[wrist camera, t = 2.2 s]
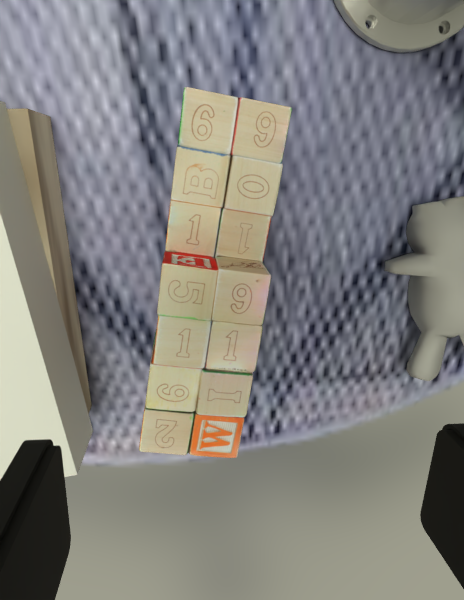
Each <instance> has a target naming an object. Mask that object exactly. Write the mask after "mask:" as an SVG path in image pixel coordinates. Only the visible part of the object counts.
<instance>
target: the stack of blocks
mask: <svg viewBox="0 0 464 600" xmlns="http://www.w3.org/2000/svg"><path fill="white" fill-rule="evenodd" d="M291 112H292V108H291V107H286V106H282V105H277V104H272V103H267V102H261V101H257V100H252V99H247V98H237V97H233V96H228V95H224V94H219V93H214V92H208V91H204V90H198V89H194V88H188V87H185V88H184V93H183V103H182V112H181V121H180V129H179V140H178V146H177V150H176V158H175V168H174V176H173V185H172V193H171V202H170V210H169V218H168V229H167V238H166V250H165V253H164V257H163V262H162V270H161V280H160V290H159V299H158V309H157V313H158V323H157V329H156V333H155V338H154V344H153V351H152V357H151V364H150V371H149V380H148V387H147V395H146V404H145V409H144V416H143V423H142V431H141V438H140V446H139V451H141V452H154V453H167V454H177V455H186V454H187V453H189V454H191V455H195V456H209V457H226V458H236V457H237V454H238V449H239V444H240V438H241V433H242V428H243V423H244V417H245V416H246V414H247V408H248V402H249V396H250V391H251V385H252V379H253V374H252V373H253V372H254V371H255V369H256V364H257V358H258V352H259V347H260V341H261V335H262V324H263V321H264V315H265V310H266V304H267V299H268V293H269V287H270V281H271V274H270V273H269V272H268V270H267V269H266V267H265V266H264V264H263V263H262V262H263V259H264V253H265V248H266V243H267V238H268V233H269V228H270V222H271V217H272V215H273V214H274V209H275V205H276V200H277V195H278V190H279V185H280V179H281V174H282V168H283V164H282V158H283V153H284V148H285V143H286V138H287V133H288V127H289V122H290V117H291Z"/></svg>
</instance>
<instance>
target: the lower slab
mask: <svg viewBox="0 0 464 600" xmlns="http://www.w3.org/2000/svg"><path fill="white" fill-rule="evenodd" d="M7 112H8V116H9V120H10V123H11V127H12V131H13V135H14V138H15V142H16V146H17V150H18V153H19V157H20V161H21V164H22V168H23V172H24V176H25V179H26V183H27V187H28V191H29V194H30V198H31V202H32V205H33V209H34V213H35V217H36V220H37V224H38V228H39V232H40V235H41V239H42V243H43V246H44V250H45V254H46V258H47V261H48V265H49V269H50V273H51V276H52V280H53V284H54V287H55V291H56V295H57V299H58V302H59V306H60V310H61V314H62V317H63V321H64V325H65V328H66V332H67V336H68V340H69V343H70V347H71V351H72V355H73V358H74V362H75V366H76V369H77V373H78V377H79V381H80V384H81V388H82V392H83V396H84V399H85V403H86V407H87V410H88V414H89V411H90V409H91V406H92V405H91V398H90V391H89V384H88V377H87V370H86V363H85V356H84V349H83V342H82V335H81V328H80V321H79V314H78V307H77V300H76V294H75V287H74V280H73V273H72V266H71V259H70V252H69V245H68V238H67V231H66V224H65V217H64V210H63V203H62V196H61V189H60V182H59V175H58V168H57V161H56V154H55V147H54V140H53V133H52V126H51V119H50V117H49V116H47V115H44V114H41V113H38V112H35V111H33V110H30V109H7Z"/></svg>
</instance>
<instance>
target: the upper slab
mask: <svg viewBox="0 0 464 600" xmlns="http://www.w3.org/2000/svg"><path fill="white" fill-rule="evenodd" d="M92 432H93V429H92V425H91V422H90V418H89V414H88V410H87V407H86V403H85V399H84V396H83V392H82V388H81V384H80V381H79V377H78V373H77V369H76V366H75V362H74V358H73V355H72V351H71V347H70V343H69V340H68V336H67V332H66V328H65V325H64V321H63V317H62V314H61V310H60V306H59V302H58V299H57V295H56V291H55V287H54V284H53V280H52V276H51V273H50V269H49V265H48V261H47V258H46V254H45V250H44V246H43V243H42V239H41V235H40V232H39V228H38V224H37V220H36V217H35V213H34V209H33V205H32V202H31V198H30V194H29V191H28V187H27V183H26V179H25V176H24V172H23V168H22V164H21V161H20V157H19V153H18V150H17V146H16V142H15V138H14V135H13V131H12V127H11V123H10V120H9V116H8V112H7V109H6V105H5V103H4V102H1V101H0V480H1V478H2V477H3V475H4V473H5V472H6V470H7V468H8V467H9V465H10V463H11V461H12V460H13V458H14V456H15V455H16V453H17V451H18V449H19V448H20V446H21V444H22V443H23V442H24V441H25V440H43V439H51V440H52V442H53V445H54V446H56V445H59V446H60V447H61V451H62V459H63V469H64V477H67V476H73V475H77V474H78V471H79V468H80V466H81V463H82V460H83V457H84V454H85V452H86V449H87V446H88V443H89V440H90V438H91V435H92Z"/></svg>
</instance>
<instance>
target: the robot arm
mask: <svg viewBox="0 0 464 600" xmlns="http://www.w3.org/2000/svg"><path fill="white" fill-rule="evenodd" d="M334 2H335V5H336V7H337V8H338V10H339V12H340V14H341V15H342V17H343V19H344V20H345V22H346V23H347V24H348V25H349V26H350V27H351V28H352V30H353V31H354V32H355V33H356V34H357V35H359V36H360V37H361V38H363V39H364V40H365V41H367V42H368V43H369V44H372V45H374V46H376V47H379V48H381V49H383V50H388V51H393V52H415V51H419V50H423V49H426V48H430V47H432V46H434V45H436V44H438V43H441V42H443V41H444V40H446V39H448V38H449V37H451V36H452V35H454V34H456V33H457V32H459V31H460V30H461V29H462V28H463V27H464V0H334ZM365 22H367V23H368V24H369V28H367V27H366V25H365ZM439 29H440V32H439ZM421 522H422V525H423V528H424V529H425V531H426V533H427V534H428V536H429V537H430V539H431V540H432V542H433V543H434V545H435V546H436V548H437V549H438V551H439V552H440V554H441V555H442V557H443V558H444V560H445V561H446V563H447V564H448V566H449V567H450V569H451V570H452V572H453V573H454V575H455V577H456V578H457V580H458V581H459V582H460V584H461V586H462V587H463V589H464V424H447V425H445V426H444V427H443V429H442V430H441V431H439V432H438V433H437V437H436V442H435V446H434V452H433V456H432V461H431V465H430V471H429V475H428V480H427V485H426V490H425V494H424V500H423V504H422V509H421ZM70 541H71V535H70V525H69V516H68V506H67V497H66V488H65V479H64V469H63V459H62V451H61V447H60V446H59V445H56V446H54V445H53V442H52V440H51V439H43V440H25V441H24V442H23V443H22V444H21V446H20V448H19V449H18V451H17V453H16V455H15V456H14V458H13V460H12V461H11V463H10V465H9V467H8V468H7V470H6V472H5V473H4V475H3V477H2V478H1V480H0V600H55V597H56V594H57V591H58V587H59V584H60V580H61V577H62V574H63V571H64V567H65V564H66V561H67V557H68V554H69V549H70Z"/></svg>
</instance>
